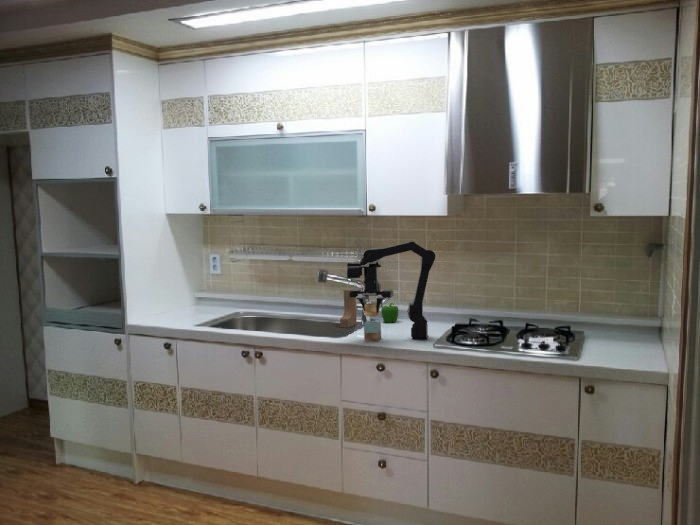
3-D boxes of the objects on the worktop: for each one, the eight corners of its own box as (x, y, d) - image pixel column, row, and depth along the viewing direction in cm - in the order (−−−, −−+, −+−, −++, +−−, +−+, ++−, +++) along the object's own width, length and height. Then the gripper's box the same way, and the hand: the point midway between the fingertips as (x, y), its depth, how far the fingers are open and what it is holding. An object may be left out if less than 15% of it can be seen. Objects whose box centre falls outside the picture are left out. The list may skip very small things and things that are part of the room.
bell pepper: (378, 322, 312) (377, 302, 311) (389, 319, 317) (389, 300, 316) (390, 324, 306) (389, 304, 305) (401, 321, 311) (401, 302, 310)
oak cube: (379, 314, 274) (378, 303, 273) (376, 316, 269) (375, 305, 268) (368, 314, 275) (367, 303, 275) (364, 316, 270) (364, 304, 270)
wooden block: (347, 328, 301) (346, 291, 299) (339, 327, 303) (338, 290, 301) (357, 324, 308) (355, 288, 307) (349, 324, 311) (347, 288, 309)
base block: (381, 339, 275) (380, 330, 275) (377, 342, 269) (377, 333, 269) (368, 338, 277) (367, 329, 276) (364, 341, 271) (364, 332, 271)
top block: (380, 330, 275) (380, 321, 274) (377, 333, 269) (377, 323, 269) (367, 329, 276) (367, 320, 276) (364, 332, 271) (363, 323, 270)
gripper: (395, 275, 275) (396, 310, 277) (355, 275, 281) (356, 309, 282) (389, 278, 265) (390, 314, 266) (348, 278, 270) (349, 313, 272)
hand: (371, 313), depth 272 cm, fingers closed on oak cube, 5 cm apart
